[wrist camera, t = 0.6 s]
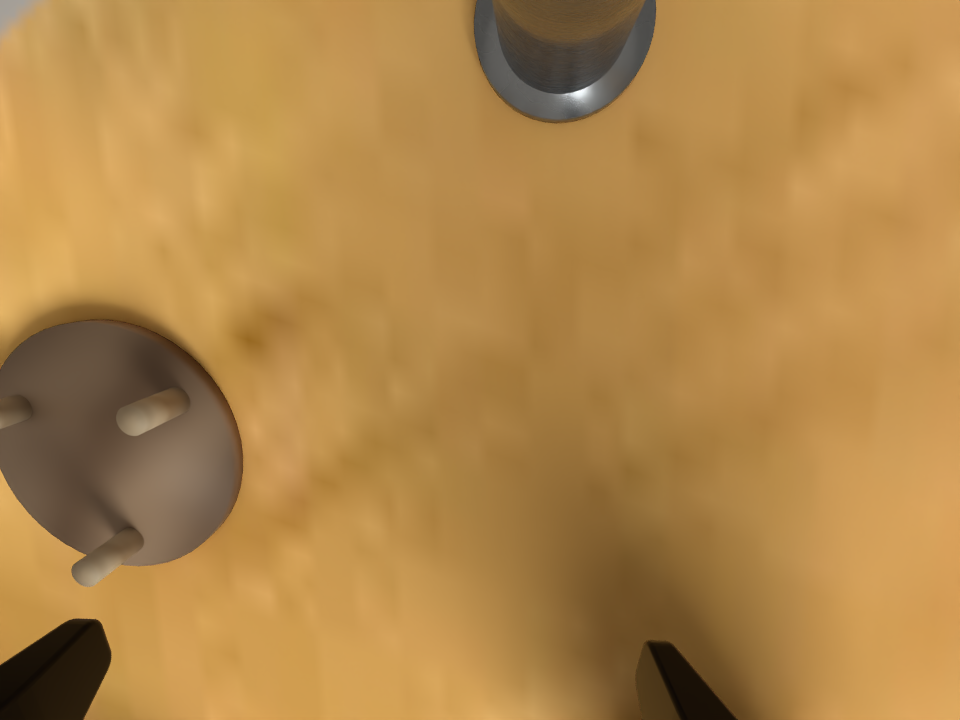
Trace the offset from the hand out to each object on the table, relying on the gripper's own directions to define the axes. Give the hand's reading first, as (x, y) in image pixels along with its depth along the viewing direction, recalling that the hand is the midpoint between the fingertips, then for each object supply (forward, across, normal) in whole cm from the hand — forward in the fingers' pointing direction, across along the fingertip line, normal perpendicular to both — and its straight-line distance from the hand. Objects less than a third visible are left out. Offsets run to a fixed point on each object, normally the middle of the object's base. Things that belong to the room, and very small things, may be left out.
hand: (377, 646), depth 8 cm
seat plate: (+14, +14, +6) cm, 21 cm away
